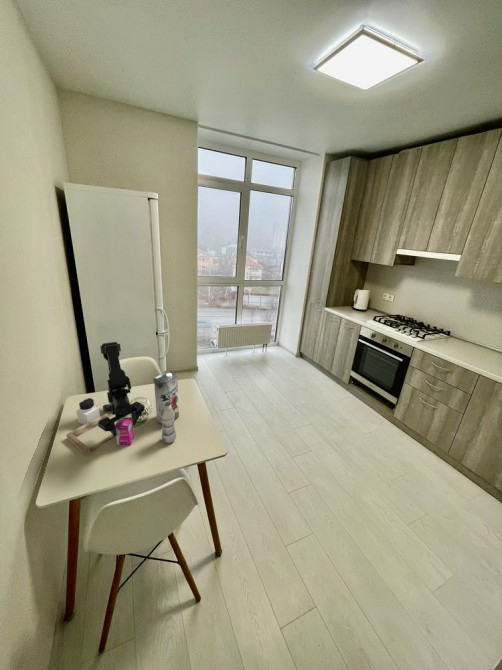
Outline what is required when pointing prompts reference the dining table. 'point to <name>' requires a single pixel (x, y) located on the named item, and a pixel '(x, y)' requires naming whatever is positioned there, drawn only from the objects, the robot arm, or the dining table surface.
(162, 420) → the plastic bottle
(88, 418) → the medicine bottle
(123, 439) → the supplement box
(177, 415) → the juice carton
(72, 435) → the cleat bracket
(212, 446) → the dining table surface
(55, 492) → the dining table surface
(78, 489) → the dining table surface
